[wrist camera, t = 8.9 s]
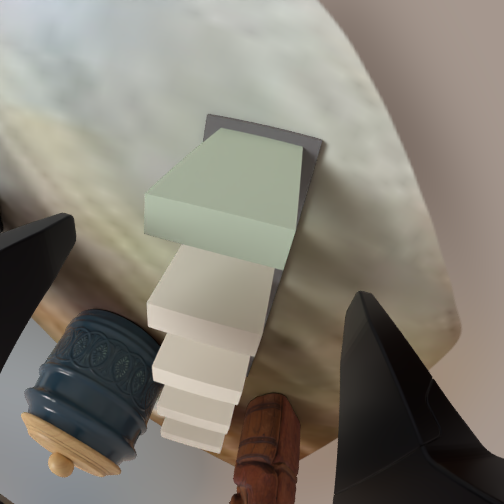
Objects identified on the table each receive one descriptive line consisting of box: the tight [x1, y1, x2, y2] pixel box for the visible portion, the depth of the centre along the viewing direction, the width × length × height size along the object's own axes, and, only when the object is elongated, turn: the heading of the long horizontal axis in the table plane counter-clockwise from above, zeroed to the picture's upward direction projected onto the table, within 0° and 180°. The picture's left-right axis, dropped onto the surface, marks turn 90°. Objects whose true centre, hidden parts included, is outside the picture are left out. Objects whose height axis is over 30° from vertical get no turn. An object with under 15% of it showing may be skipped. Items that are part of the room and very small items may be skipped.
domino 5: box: [161, 417, 225, 454], centre depth 26 cm, size 5×2×10 cm, turn 79°
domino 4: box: [157, 385, 235, 434], centre depth 23 cm, size 5×2×10 cm, turn 79°
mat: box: [203, 114, 322, 377], centre depth 25 cm, size 7×24×1 cm, turn 169°
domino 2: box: [147, 244, 275, 357], centre depth 17 cm, size 5×2×10 cm, turn 79°
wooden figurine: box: [229, 393, 300, 504], centre depth 29 cm, size 12×6×18 cm, turn 18°
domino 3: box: [152, 333, 250, 405], centre depth 20 cm, size 5×2×10 cm, turn 79°
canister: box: [21, 309, 164, 477], centre depth 27 cm, size 13×13×18 cm
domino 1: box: [144, 128, 303, 270], centre depth 14 cm, size 5×2×10 cm, turn 79°
